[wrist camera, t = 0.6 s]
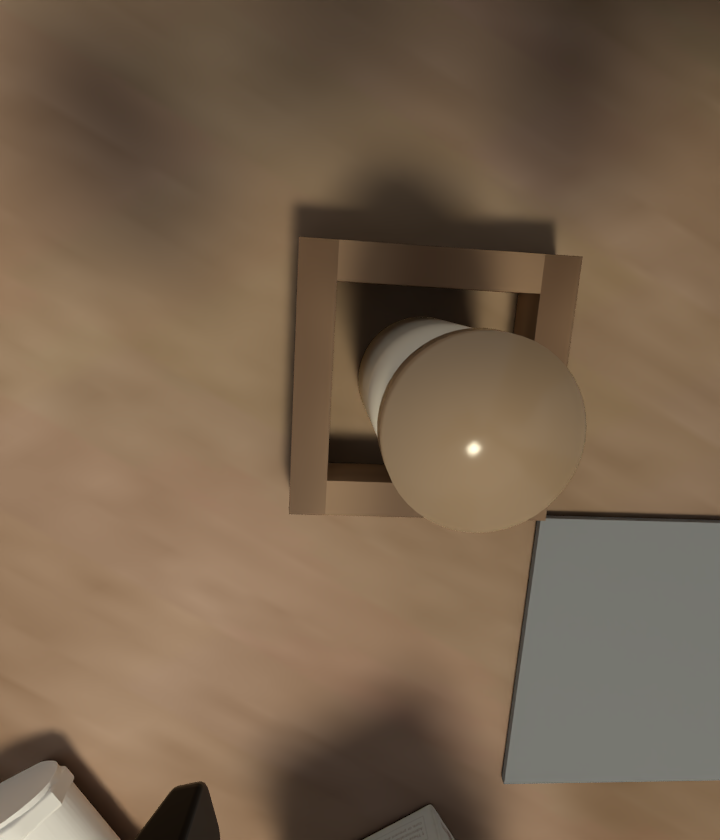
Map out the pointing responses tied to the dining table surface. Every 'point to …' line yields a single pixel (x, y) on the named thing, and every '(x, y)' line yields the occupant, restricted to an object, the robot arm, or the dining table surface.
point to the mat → (618, 654)
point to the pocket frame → (407, 266)
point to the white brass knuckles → (48, 807)
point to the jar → (472, 421)
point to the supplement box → (416, 827)
